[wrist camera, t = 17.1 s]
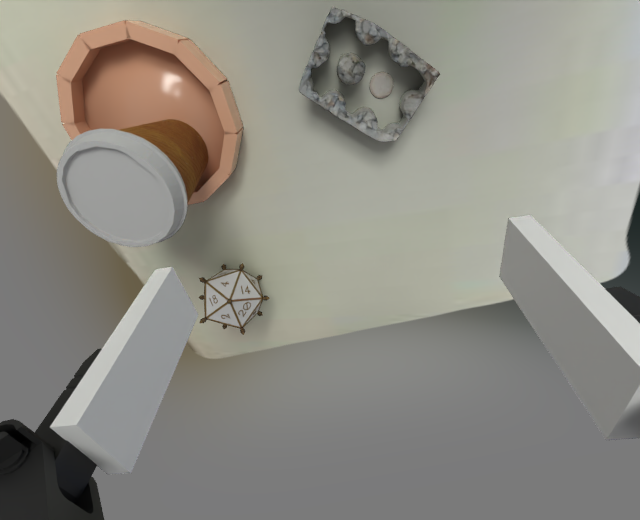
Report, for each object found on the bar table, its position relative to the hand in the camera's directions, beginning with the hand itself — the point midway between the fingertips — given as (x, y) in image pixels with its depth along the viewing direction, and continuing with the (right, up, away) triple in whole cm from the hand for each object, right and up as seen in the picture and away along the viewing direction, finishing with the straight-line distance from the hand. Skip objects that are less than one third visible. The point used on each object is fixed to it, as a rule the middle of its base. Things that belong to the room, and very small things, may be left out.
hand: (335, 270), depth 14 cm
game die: (-11, -2, +32) cm, 34 cm away
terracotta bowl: (-17, +14, +21) cm, 31 cm away
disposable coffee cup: (-15, +12, +22) cm, 29 cm away
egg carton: (+4, +18, +18) cm, 26 cm away
